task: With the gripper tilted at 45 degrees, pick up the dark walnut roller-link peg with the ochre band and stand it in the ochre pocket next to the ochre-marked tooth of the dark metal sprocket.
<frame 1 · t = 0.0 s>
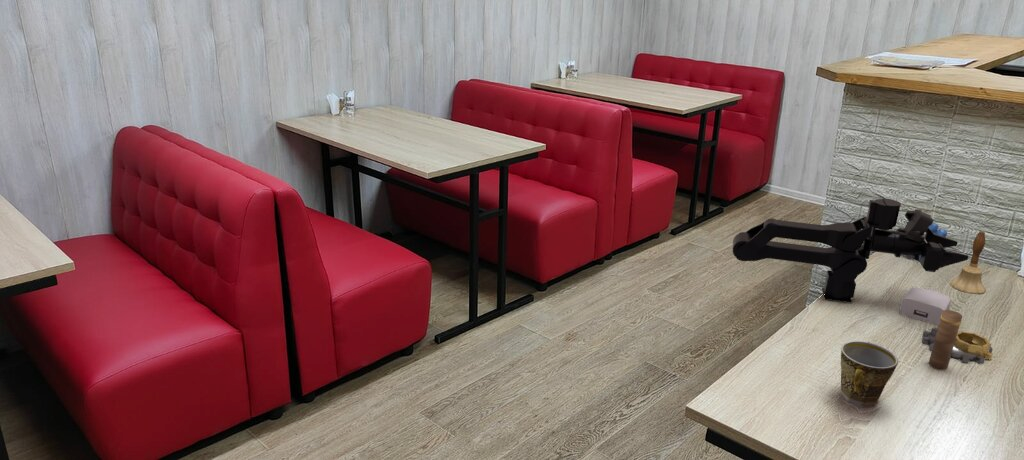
hand: (962, 250, 171), 17 cm above the table, tool horizontal, fingers open, 9 cm apart
charger: (925, 310, 179), on the table
ceramic cup: (856, 401, 141), on the table
sprocket: (956, 347, 161), on the table
link peg: (937, 365, 154), on the table
grapes: (919, 259, 208), on the table
hand bell: (967, 288, 191), on the table
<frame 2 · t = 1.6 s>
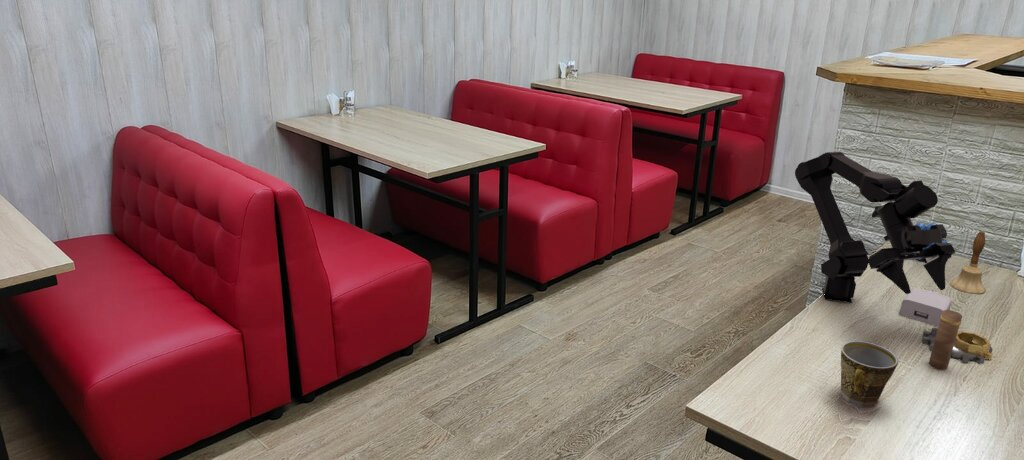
hand: (926, 291, 156), 14 cm above the table, tool tilted 45°, fingers open, 9 cm apart
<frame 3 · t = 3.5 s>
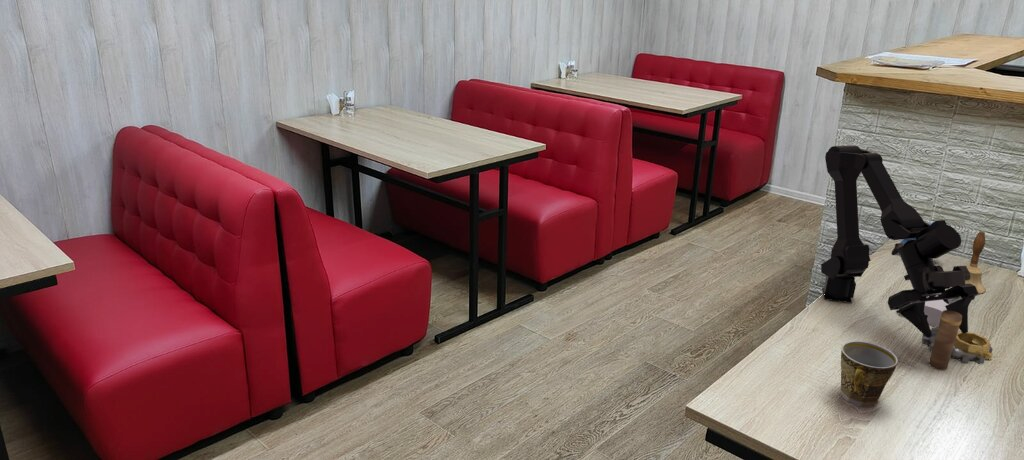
hand: (947, 335, 151), 8 cm above the table, tool tilted 45°, fingers open, 9 cm apart
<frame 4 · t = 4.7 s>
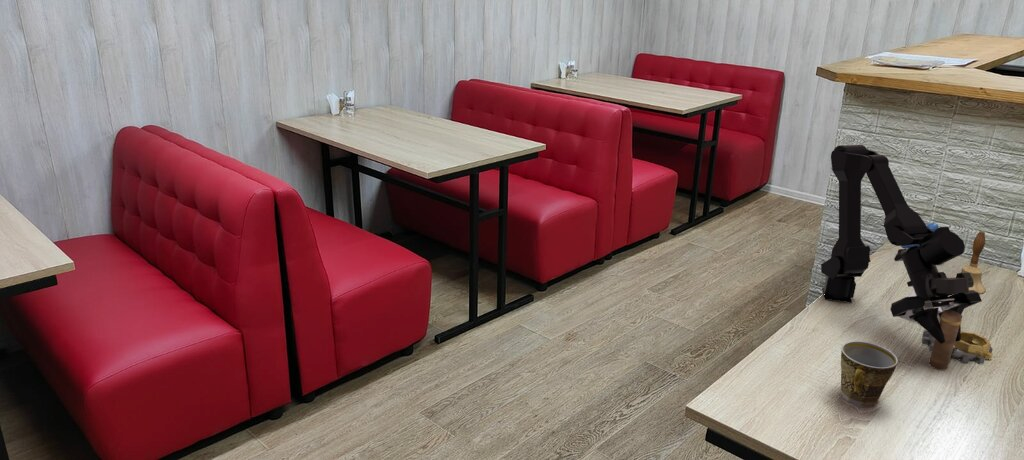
hand: (950, 342, 150), 7 cm above the table, tool tilted 45°, fingers closed on link peg, 4 cm apart
link peg: (937, 365, 154), on the table, touching gripper
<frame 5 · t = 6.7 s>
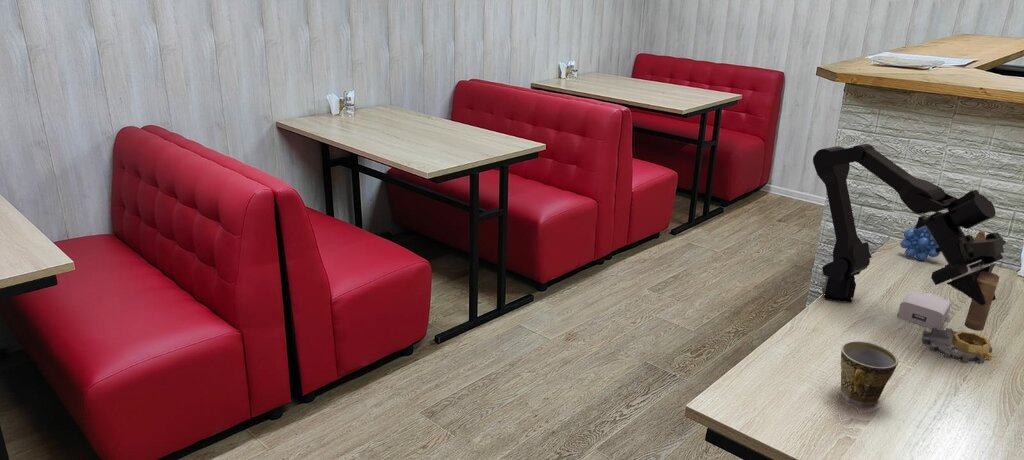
hand: (988, 302, 152), 13 cm above the table, tool tilted 45°, fingers closed on link peg, 4 cm apart
link peg: (973, 326, 156), point 7 cm above the table, touching gripper
when the fingers open (9 cm above the table, at t = 8.9 s): link peg stays where it is, resting on sprocket.
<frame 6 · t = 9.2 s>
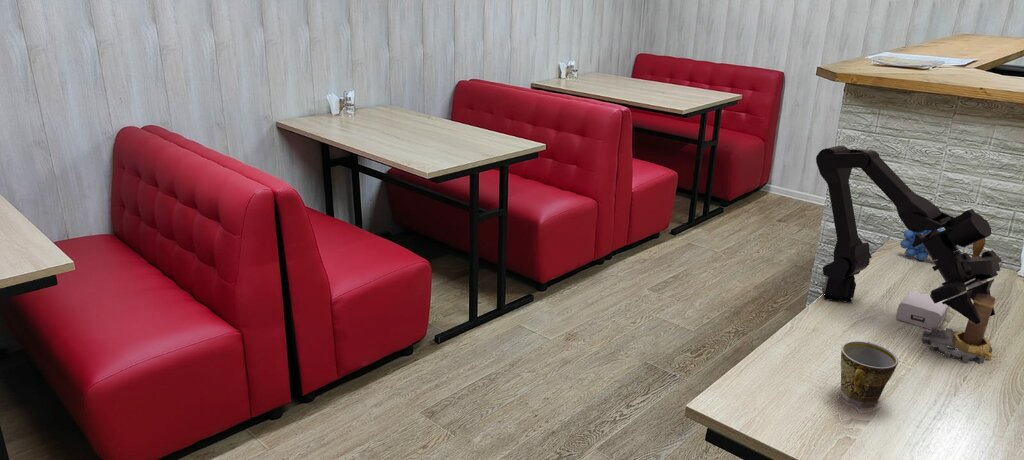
hand: (985, 319, 155), 9 cm above the table, tool tilted 45°, fingers open, 6 cm apart
link peg: (969, 346, 159), point 1 cm above the table, touching sprocket
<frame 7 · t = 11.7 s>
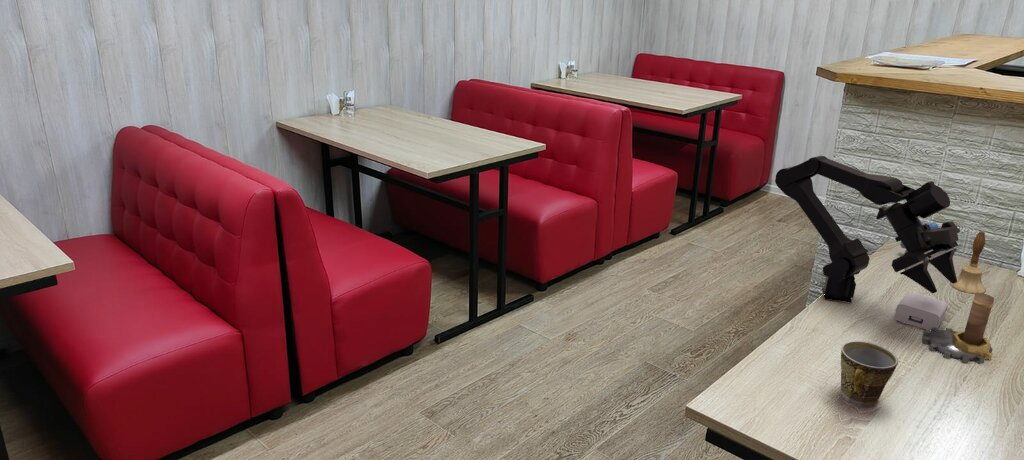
hand: (945, 287, 161), 13 cm above the table, tool tilted 45°, fingers open, 9 cm apart
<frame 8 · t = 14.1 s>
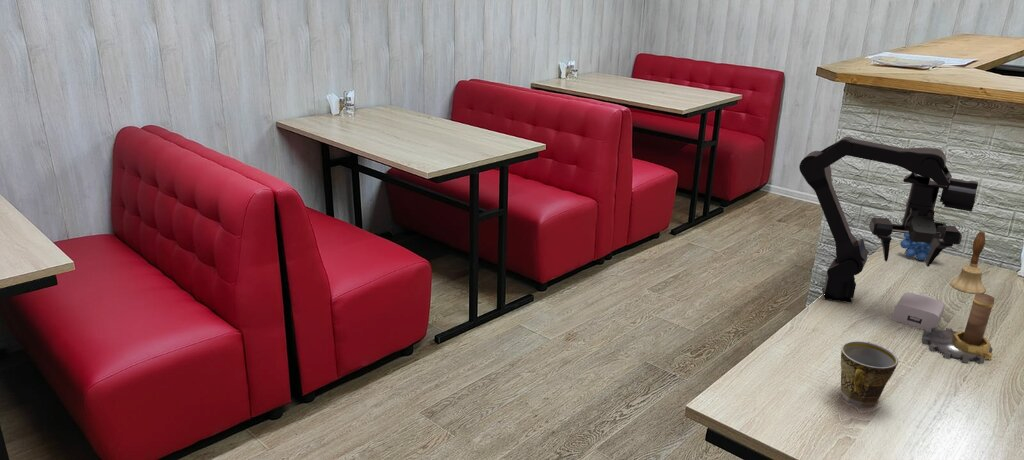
hand: (906, 263, 172), 13 cm above the table, tool pointing down, fingers open, 9 cm apart
at the end: link peg 0.1 cm from the target spot on the sprocket, point 1.2 cm above the sprocket's base; link peg tilted 0°; the gripper is holding nothing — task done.
